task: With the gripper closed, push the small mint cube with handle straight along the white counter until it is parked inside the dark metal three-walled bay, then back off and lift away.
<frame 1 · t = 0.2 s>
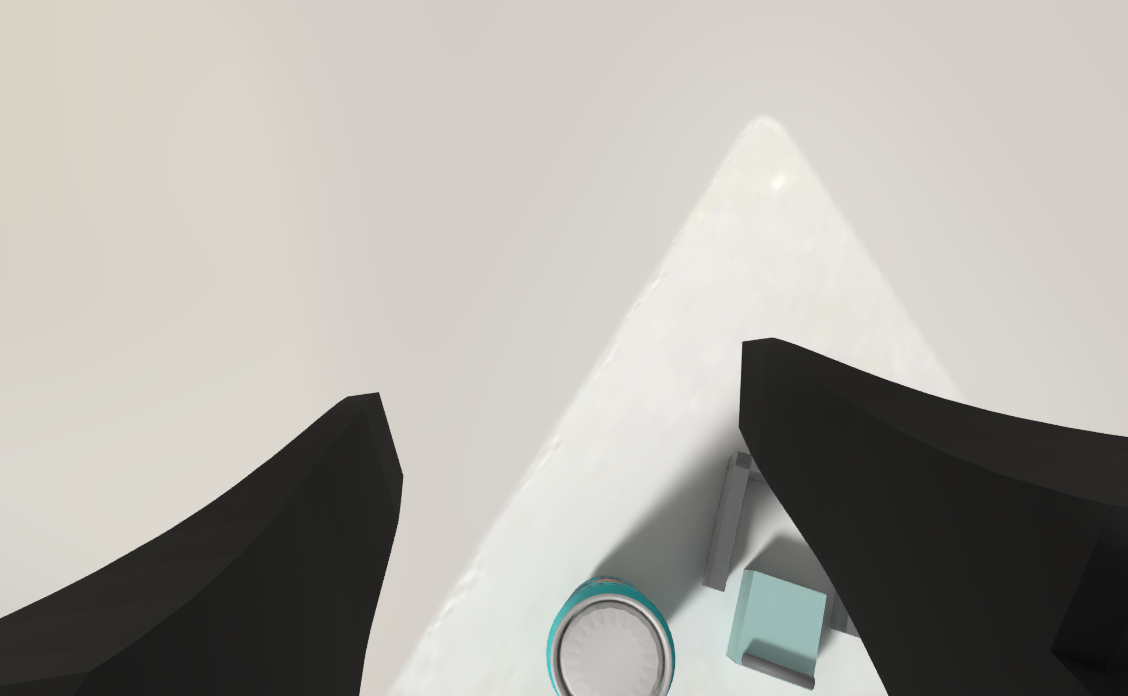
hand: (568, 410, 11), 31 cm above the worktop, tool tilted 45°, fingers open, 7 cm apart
beverage can: (606, 620, 38), on the worktop
bay: (783, 547, 39), on the worktop
mint cube with handle: (768, 622, 38), on the worktop
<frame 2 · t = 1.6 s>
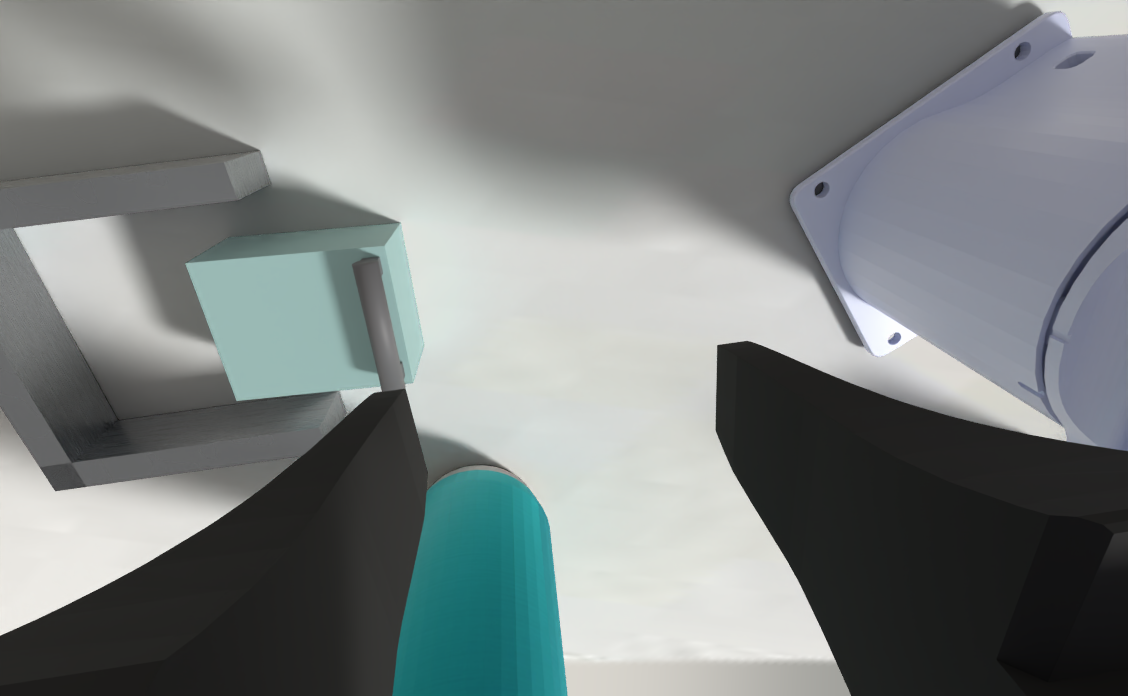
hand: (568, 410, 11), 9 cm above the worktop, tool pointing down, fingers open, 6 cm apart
beverage can: (479, 503, 24), on the worktop
bay: (188, 311, 19), on the worktop
mint cube with handle: (333, 292, 20), on the worktop
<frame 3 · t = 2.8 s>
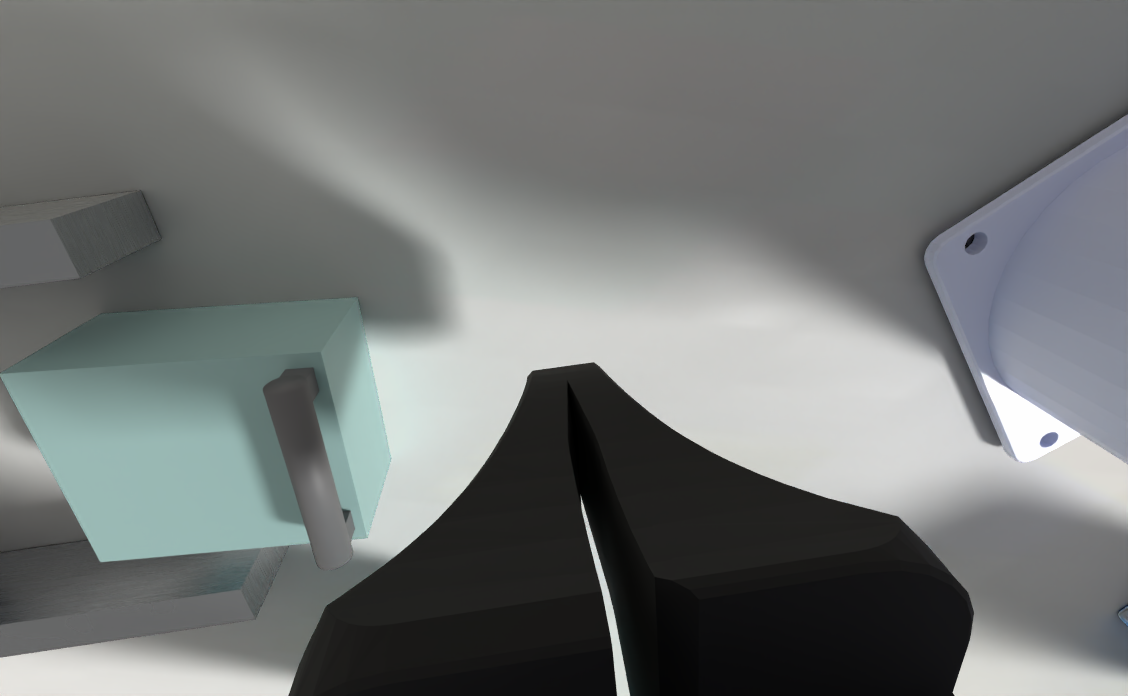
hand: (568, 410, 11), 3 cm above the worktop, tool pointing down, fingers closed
bay: (55, 416, 13), on the worktop
mint cube with handle: (262, 388, 14), on the worktop
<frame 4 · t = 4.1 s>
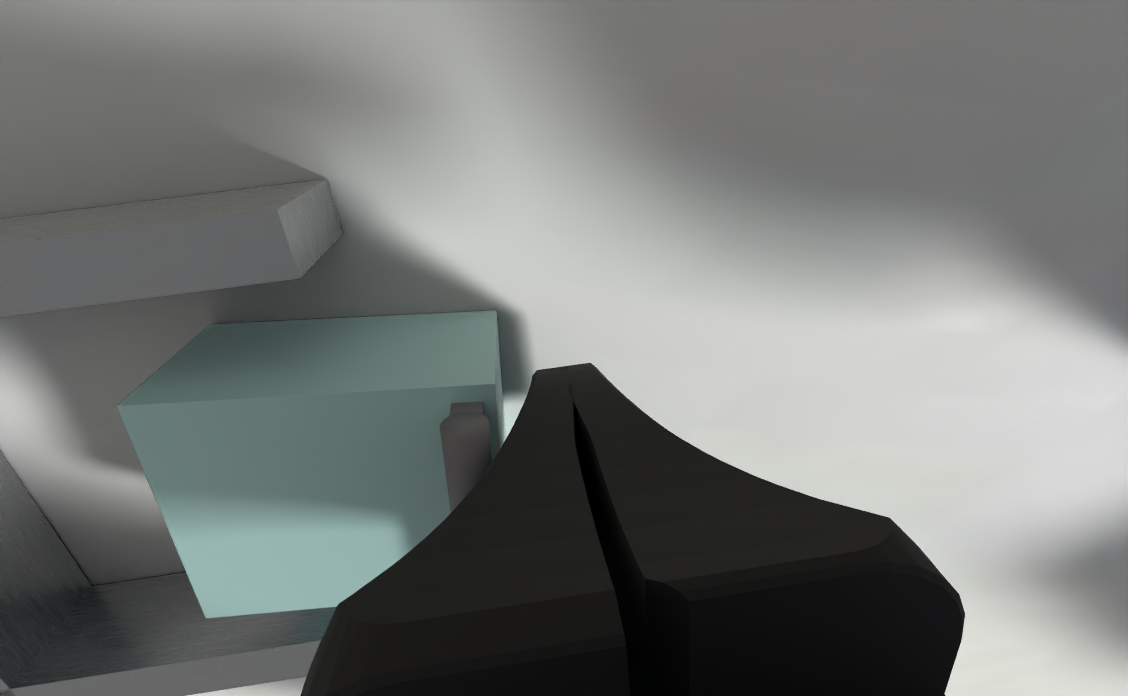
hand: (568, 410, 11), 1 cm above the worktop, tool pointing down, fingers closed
bay: (201, 432, 12), on the worktop
mint cube with handle: (374, 413, 12), on the worktop, touching gripper
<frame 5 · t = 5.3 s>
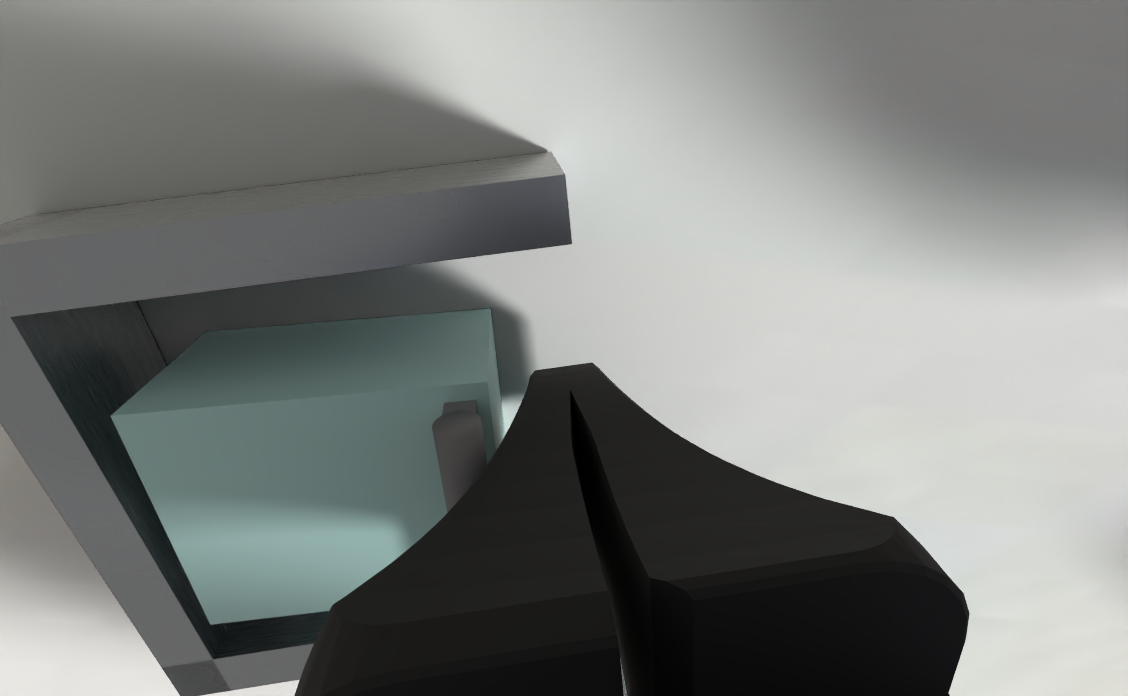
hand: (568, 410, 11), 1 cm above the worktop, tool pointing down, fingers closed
bay: (390, 407, 12), on the worktop
mint cube with handle: (373, 415, 12), on the worktop, touching gripper
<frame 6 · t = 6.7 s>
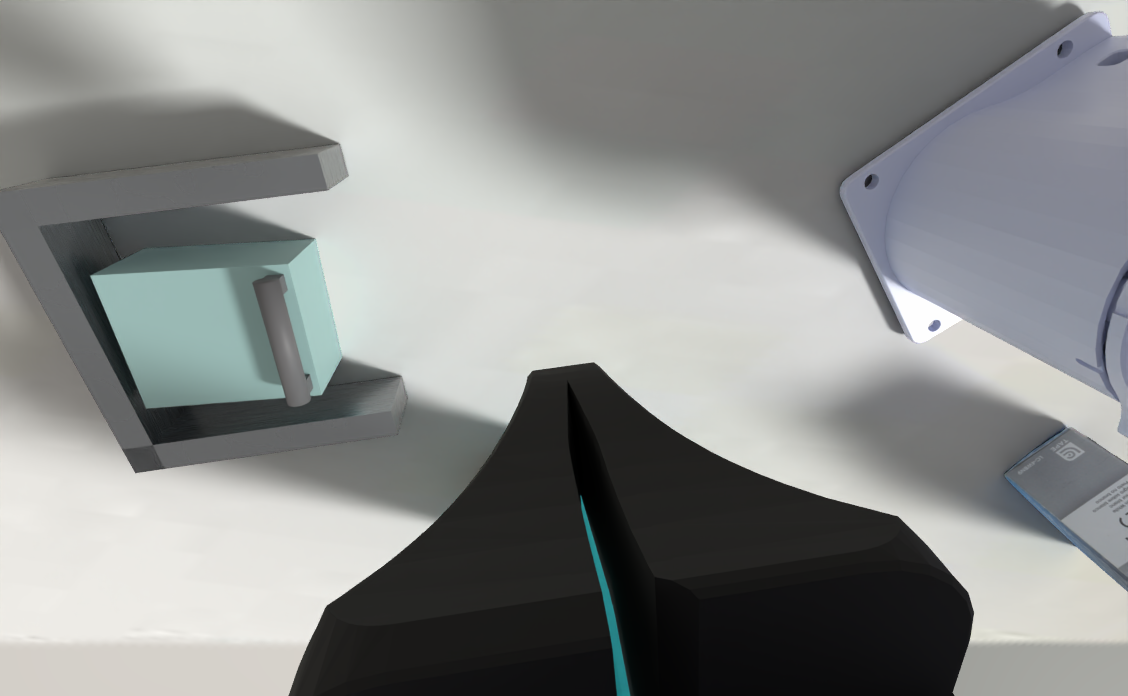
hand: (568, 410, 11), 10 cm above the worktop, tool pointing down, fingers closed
label tape box: (1066, 489, 29), on the worktop
beverage can: (530, 487, 25), on the worktop
bay: (262, 299, 20), on the worktop
mint cube with handle: (251, 303, 20), on the worktop
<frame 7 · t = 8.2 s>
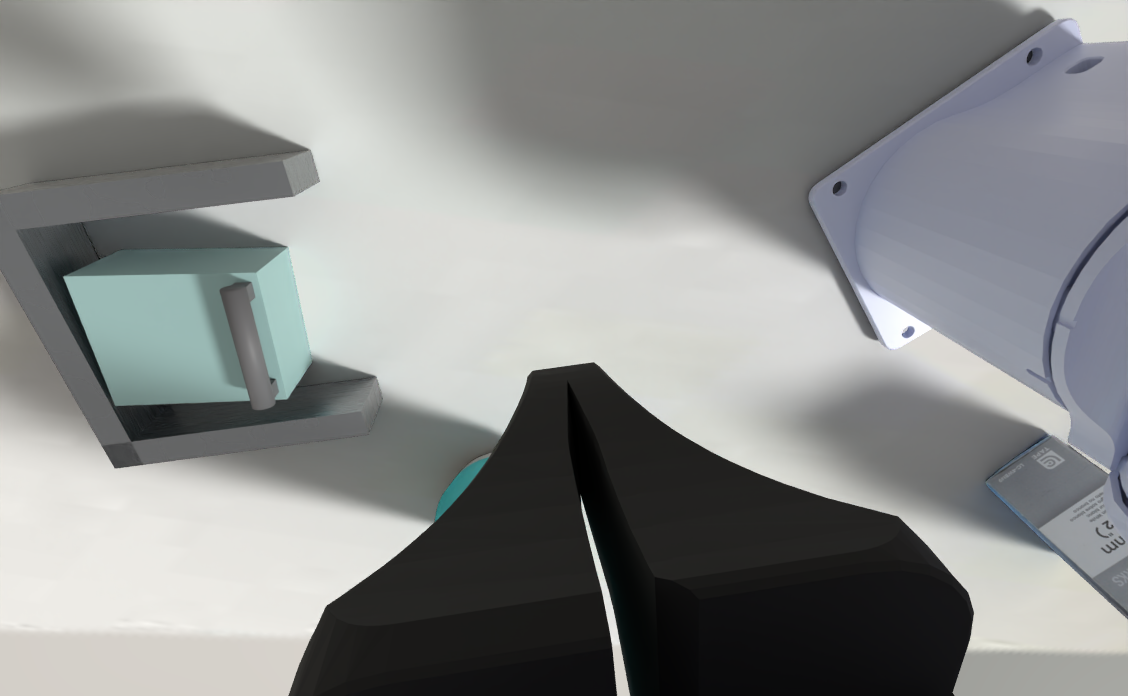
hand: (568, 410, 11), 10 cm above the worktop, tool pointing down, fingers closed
label tape box: (1050, 497, 29), on the worktop
beverage can: (506, 487, 25), on the worktop
bay: (239, 301, 20), on the worktop
mint cube with handle: (225, 306, 21), on the worktop
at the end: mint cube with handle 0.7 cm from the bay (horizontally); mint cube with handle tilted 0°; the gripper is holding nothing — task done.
